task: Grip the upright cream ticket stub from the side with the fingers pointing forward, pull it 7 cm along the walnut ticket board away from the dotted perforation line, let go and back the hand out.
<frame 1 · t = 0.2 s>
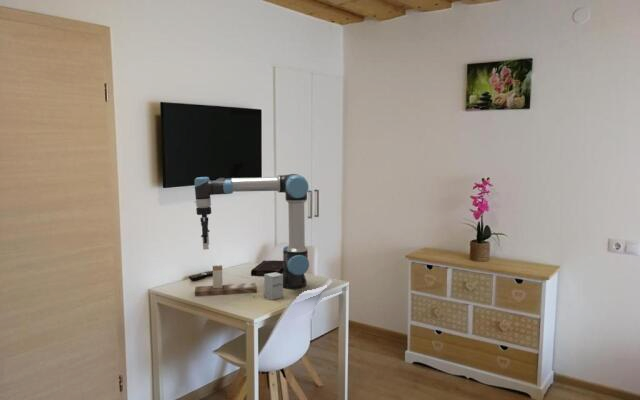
hand: (206, 246, 268), 27 cm above the table, tool pointing down, fingers open, 13 cm apart
ticket board: (226, 291, 281), on the table
supplement box: (273, 297, 271), on the table
stub: (217, 276, 279), point 9 cm above the table, slide at 0.0 cm
diary: (270, 272, 325), on the table
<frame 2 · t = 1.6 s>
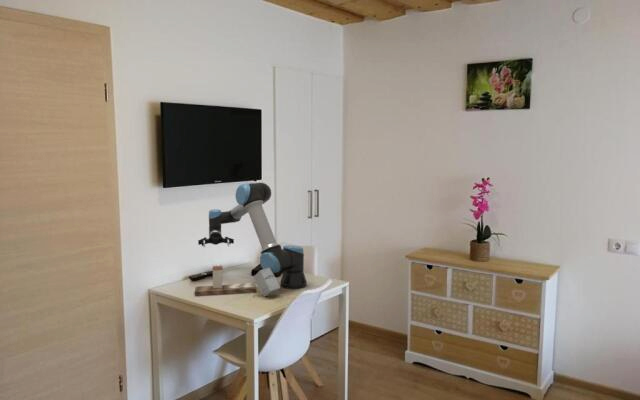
hand: (216, 244, 290), 24 cm above the table, tool horizontal, fingers open, 13 cm apart
supplement box: (272, 292, 272), point 2 cm above the table, touching arm
everything else where it was.
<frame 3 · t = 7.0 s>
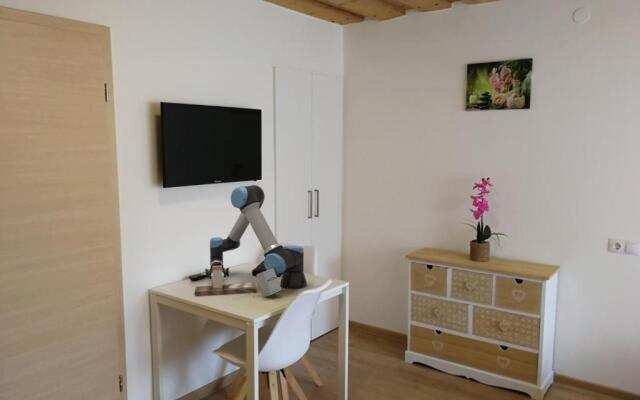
hand: (217, 278, 274), 9 cm above the table, tool horizontal, fingers closed on stub, 5 cm apart
stub: (217, 276, 279), point 9 cm above the table, slide at 0.0 cm, touching gripper
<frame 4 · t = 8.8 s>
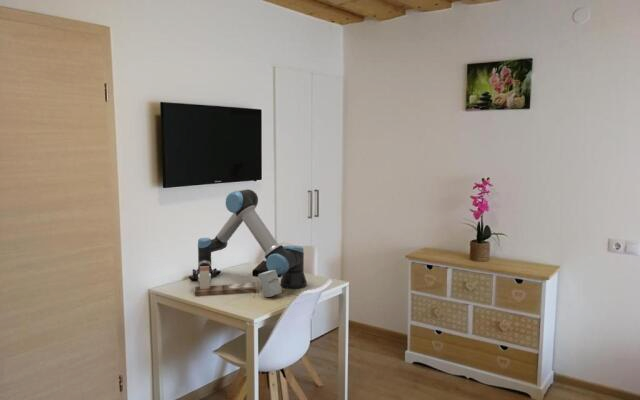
hand: (204, 278, 272), 9 cm above the table, tool horizontal, fingers closed on stub, 5 cm apart
stub: (204, 277, 277), point 9 cm above the table, slide at 7.0 cm, touching gripper
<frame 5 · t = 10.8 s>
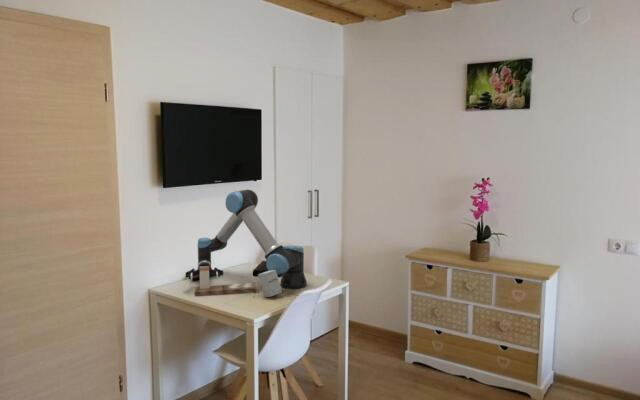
hand: (204, 277, 274), 9 cm above the table, tool horizontal, fingers open, 13 cm apart
stub: (204, 277, 277), point 9 cm above the table, slide at 7.0 cm
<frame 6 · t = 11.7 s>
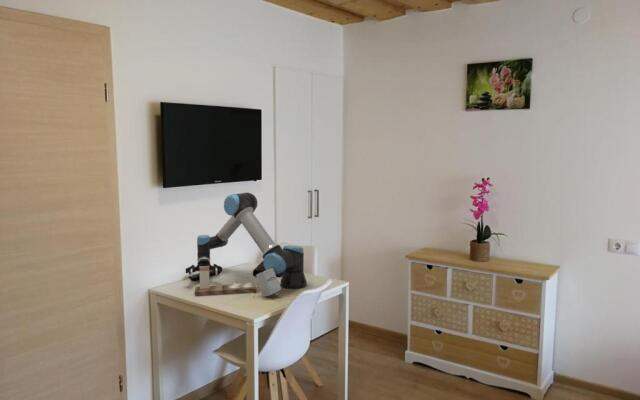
hand: (204, 273, 283), 9 cm above the table, tool horizontal, fingers open, 13 cm apart
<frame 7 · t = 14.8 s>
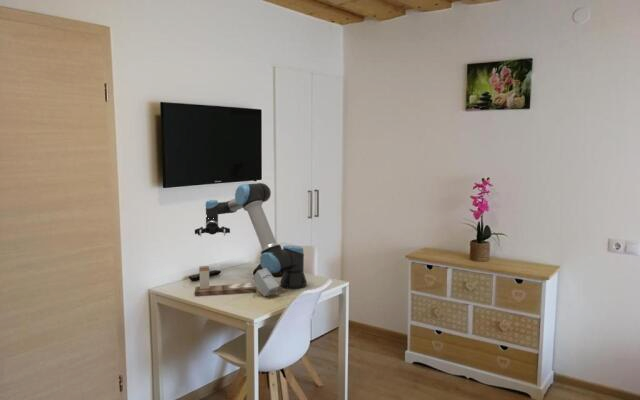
hand: (212, 233, 291), 30 cm above the table, tool horizontal, fingers open, 13 cm apart
supplement box: (272, 291, 272), point 3 cm above the table, touching arm
everything else where it was.
at the end: stub slide at 7.0 cm; the gripper is holding nothing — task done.
